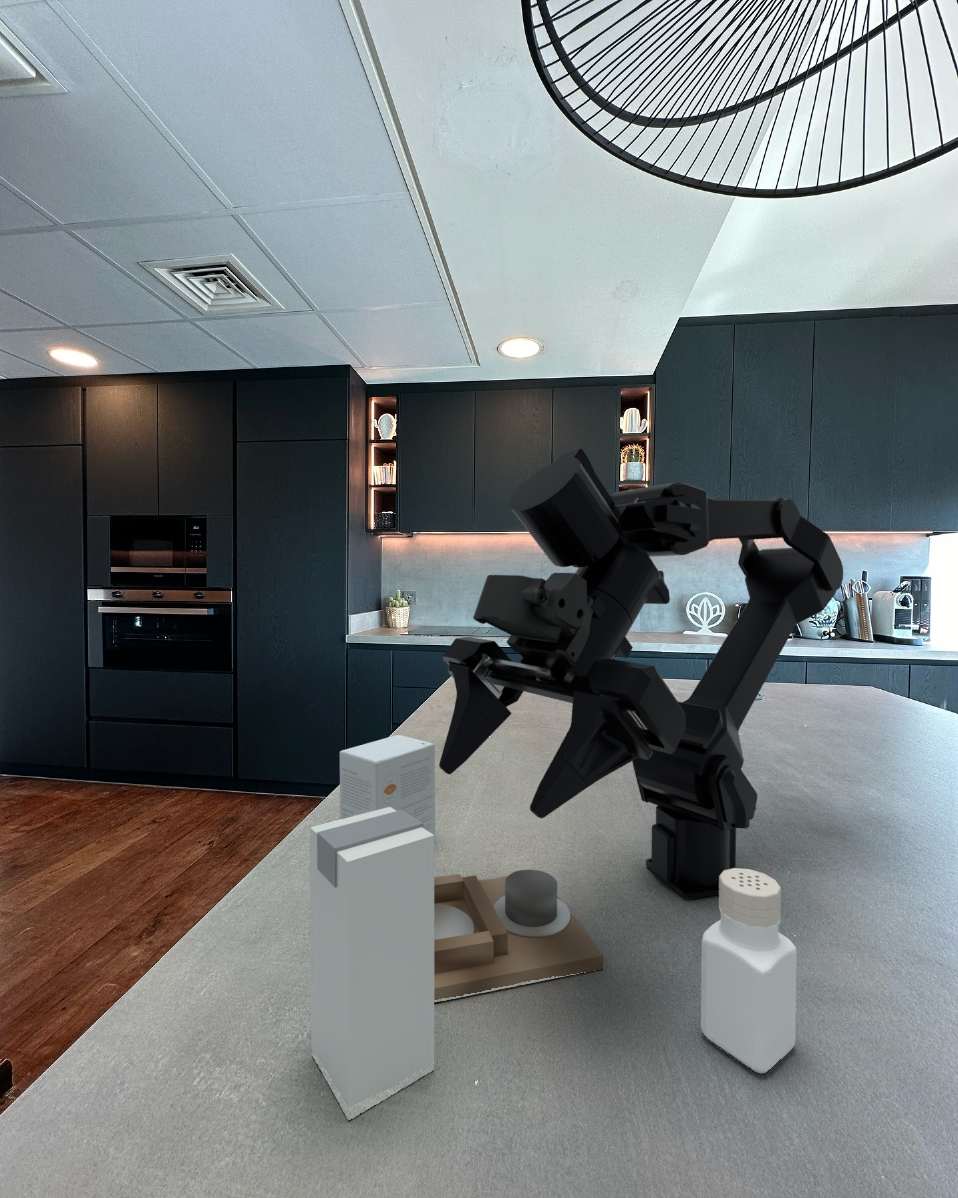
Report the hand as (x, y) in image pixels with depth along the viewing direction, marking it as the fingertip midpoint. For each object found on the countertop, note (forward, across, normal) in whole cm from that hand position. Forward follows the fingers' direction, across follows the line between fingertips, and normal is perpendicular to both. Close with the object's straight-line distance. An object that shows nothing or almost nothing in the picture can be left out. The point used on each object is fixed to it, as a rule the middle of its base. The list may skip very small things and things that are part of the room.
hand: (485, 790), depth 37 cm
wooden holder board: (+8, -5, +11) cm, 14 cm away
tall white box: (+16, +1, +3) cm, 16 cm away
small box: (+7, -21, +13) cm, 26 cm away
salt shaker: (+3, +13, +16) cm, 21 cm away
